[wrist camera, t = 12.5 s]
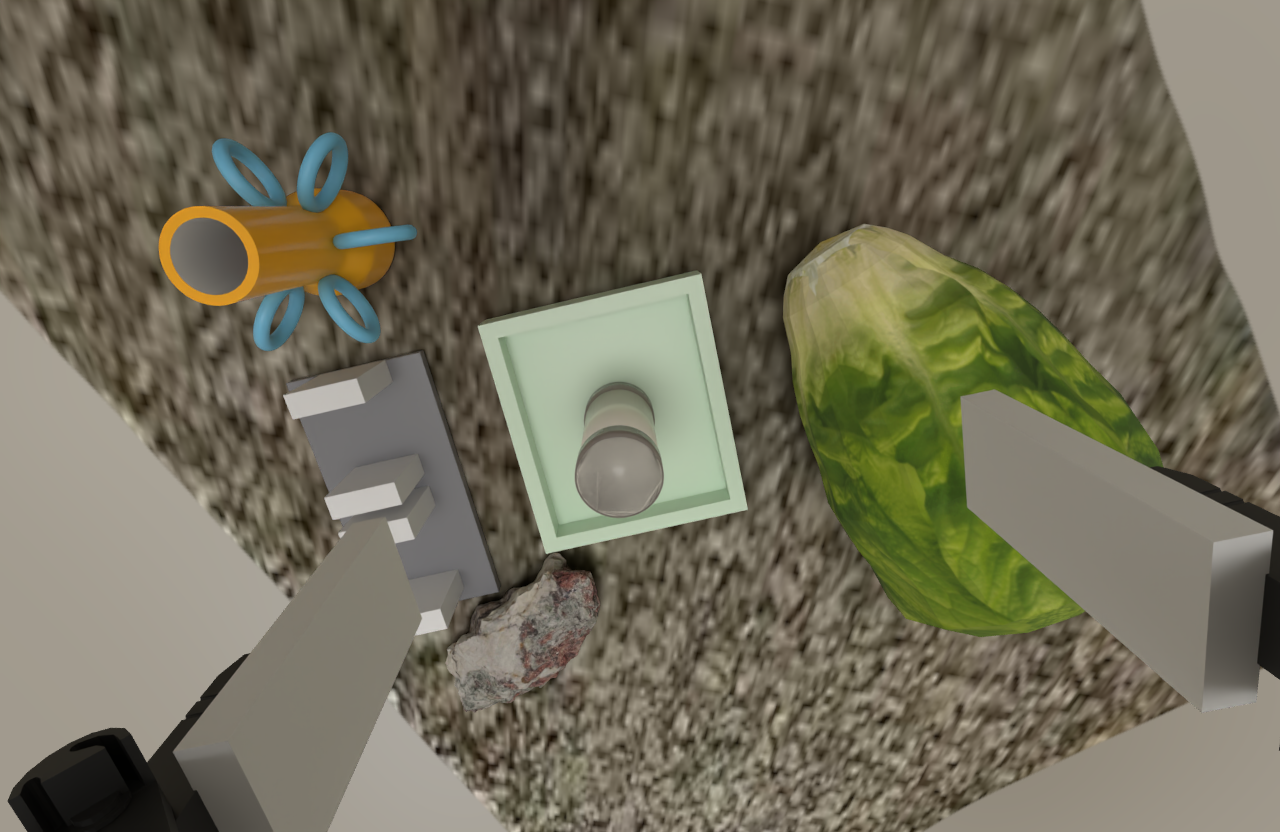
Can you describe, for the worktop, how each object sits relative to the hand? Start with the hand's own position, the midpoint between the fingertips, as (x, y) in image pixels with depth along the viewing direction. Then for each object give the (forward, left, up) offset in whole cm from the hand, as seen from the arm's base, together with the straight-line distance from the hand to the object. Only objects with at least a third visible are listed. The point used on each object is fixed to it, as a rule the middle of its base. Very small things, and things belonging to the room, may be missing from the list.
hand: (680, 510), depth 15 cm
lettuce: (+8, +15, -30) cm, 35 cm away
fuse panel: (+8, -19, -30) cm, 36 cm away
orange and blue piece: (-9, -17, -30) cm, 36 cm away
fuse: (+6, -3, -30) cm, 30 cm away
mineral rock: (+21, -13, -31) cm, 39 cm away
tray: (+6, -3, -30) cm, 31 cm away
